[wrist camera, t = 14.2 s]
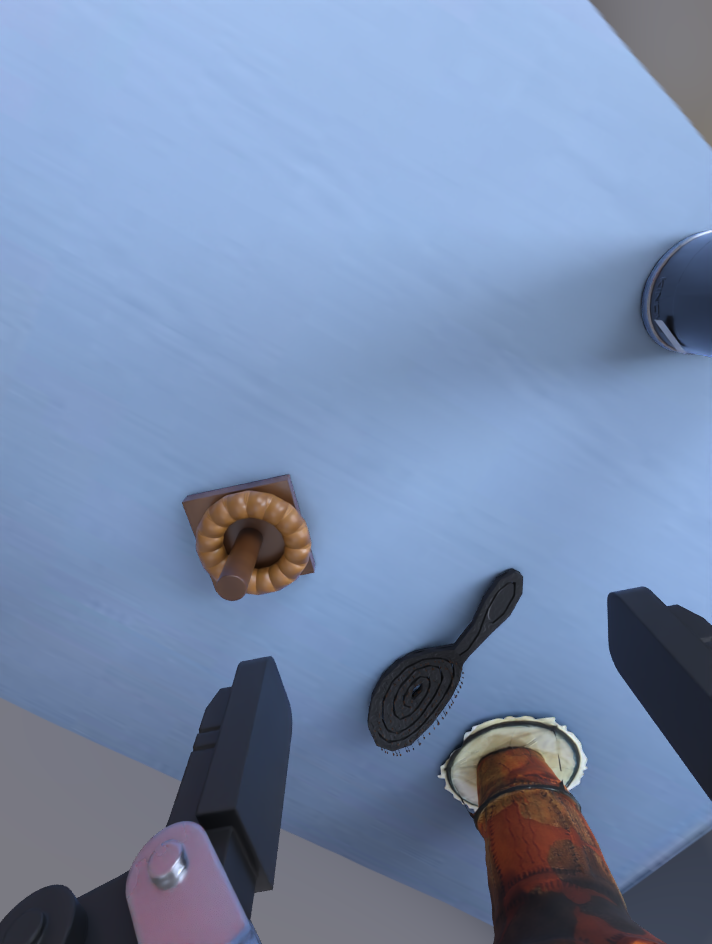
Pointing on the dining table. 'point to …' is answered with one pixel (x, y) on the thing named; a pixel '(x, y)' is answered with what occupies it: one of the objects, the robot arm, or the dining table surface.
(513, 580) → the hairbrush
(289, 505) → the donut
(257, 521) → the peg stand
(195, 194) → the dining table surface
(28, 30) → the dining table surface
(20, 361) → the dining table surface
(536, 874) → the decorative vase
